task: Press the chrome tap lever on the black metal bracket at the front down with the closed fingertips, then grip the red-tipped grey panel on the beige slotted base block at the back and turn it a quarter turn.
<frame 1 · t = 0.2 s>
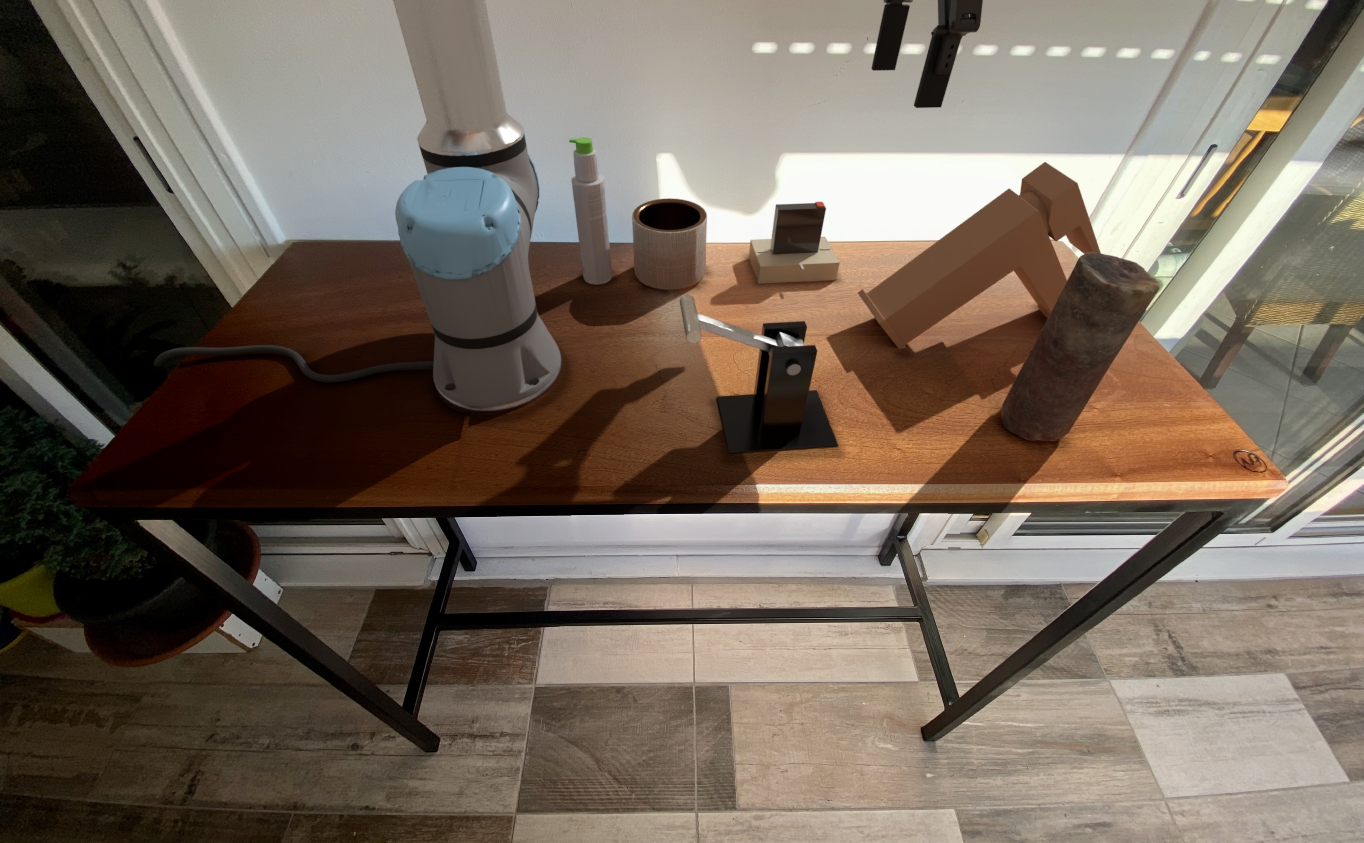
hand: (903, 87, 67), 28 cm above the table, tool pointing down, fingers open, 13 cm apart
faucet: (963, 331, 82), on the table
tap lever: (743, 336, 58), point 13 cm above the table, hinge at 25.0°
grey-brown thick cylinder: (1031, 423, 69), on the table
red-tipped grey panel: (797, 228, 88), point 7 cm above the table, hinge at 0.0°
bottle: (598, 278, 91), on the table
planter: (669, 275, 91), on the table
beige slotted base block: (791, 268, 93), on the table
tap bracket: (774, 427, 68), on the table
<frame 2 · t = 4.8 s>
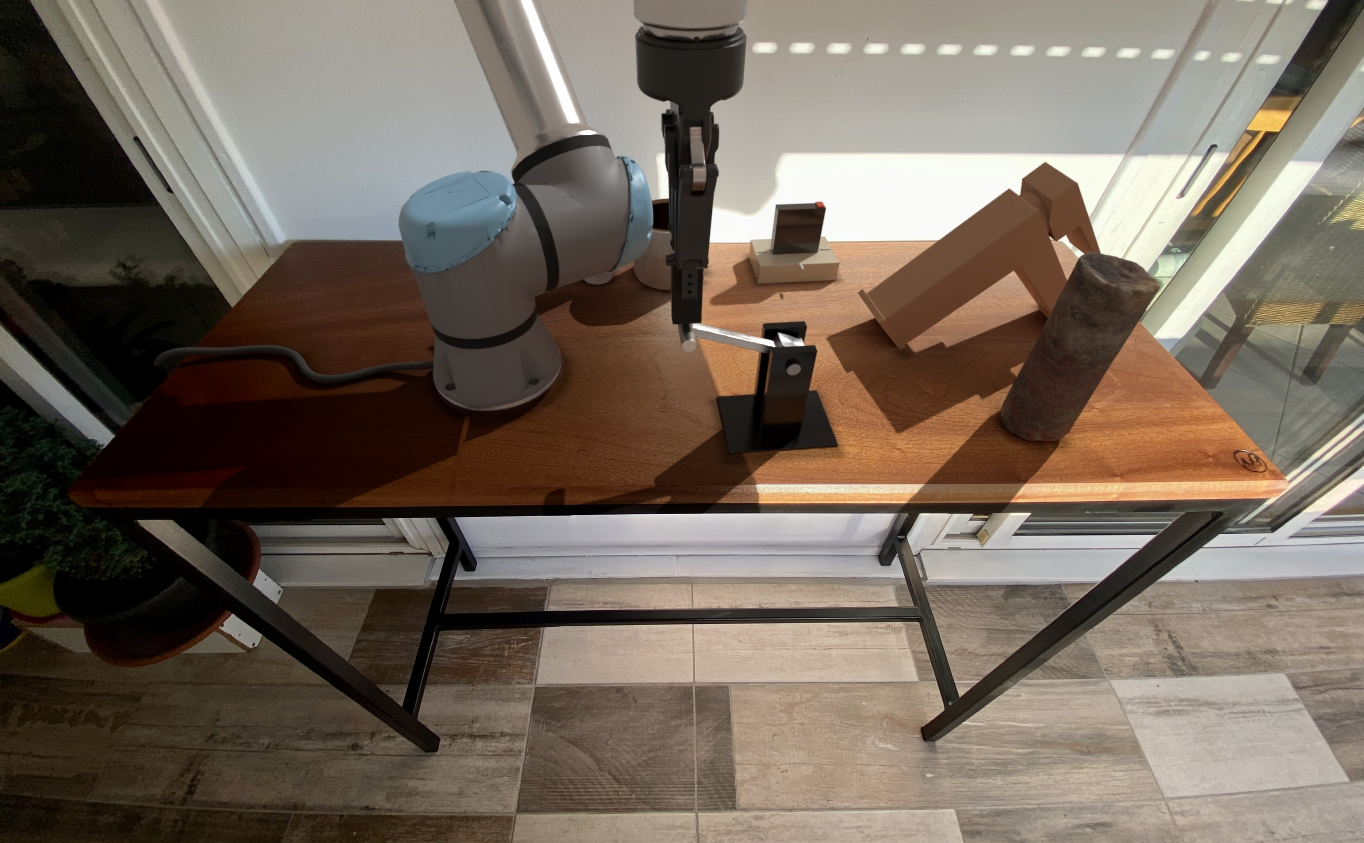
hand: (686, 319, 56), 16 cm above the table, tool pointing down, fingers closed
tap lever: (740, 340, 59), point 13 cm above the table, hinge at 19.1°, touching gripper
everything else where it was.
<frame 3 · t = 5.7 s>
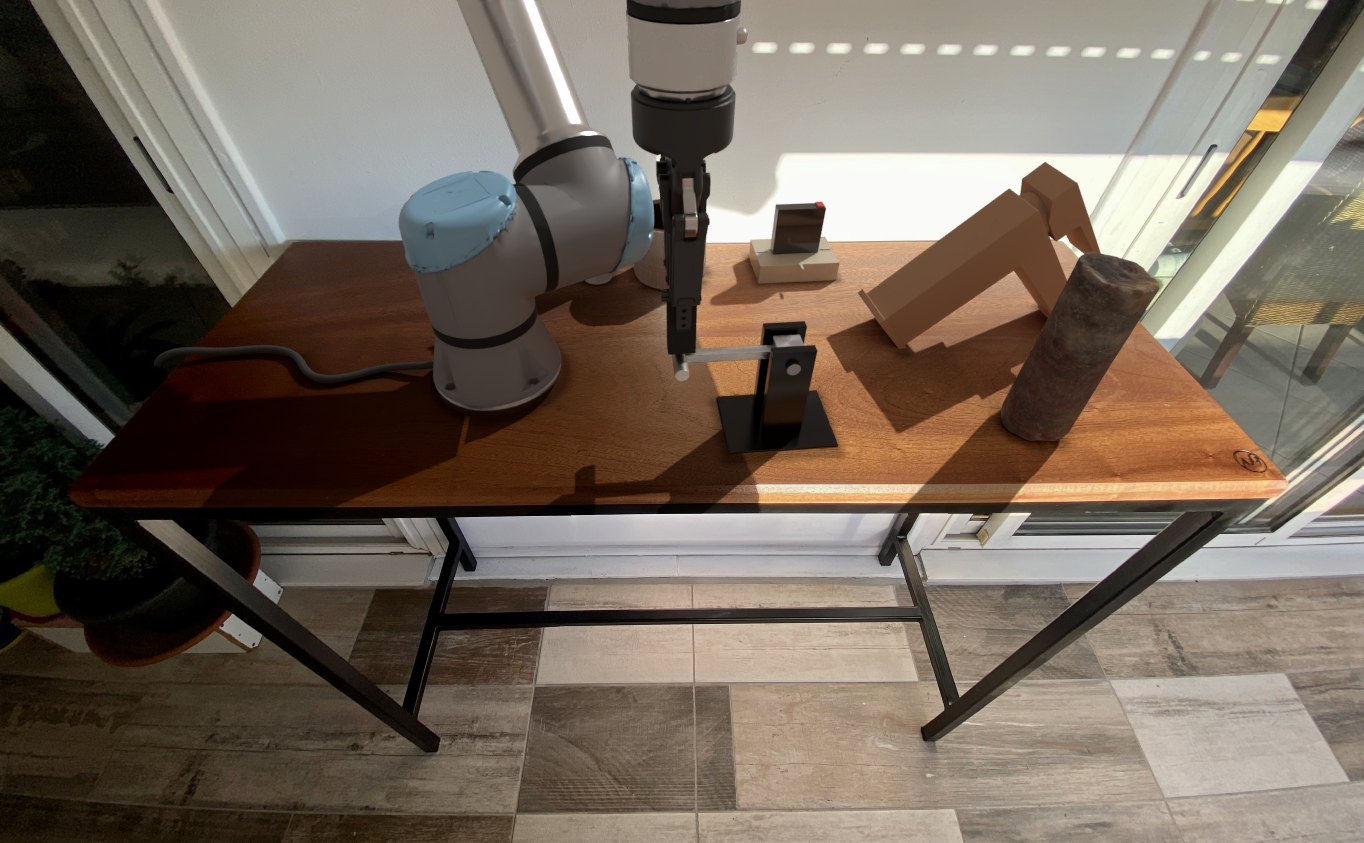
hand: (681, 349, 59), 12 cm above the table, tool pointing down, fingers closed
tap lever: (736, 353, 60), point 11 cm above the table, hinge at 0.4°, touching gripper
everything else where it was.
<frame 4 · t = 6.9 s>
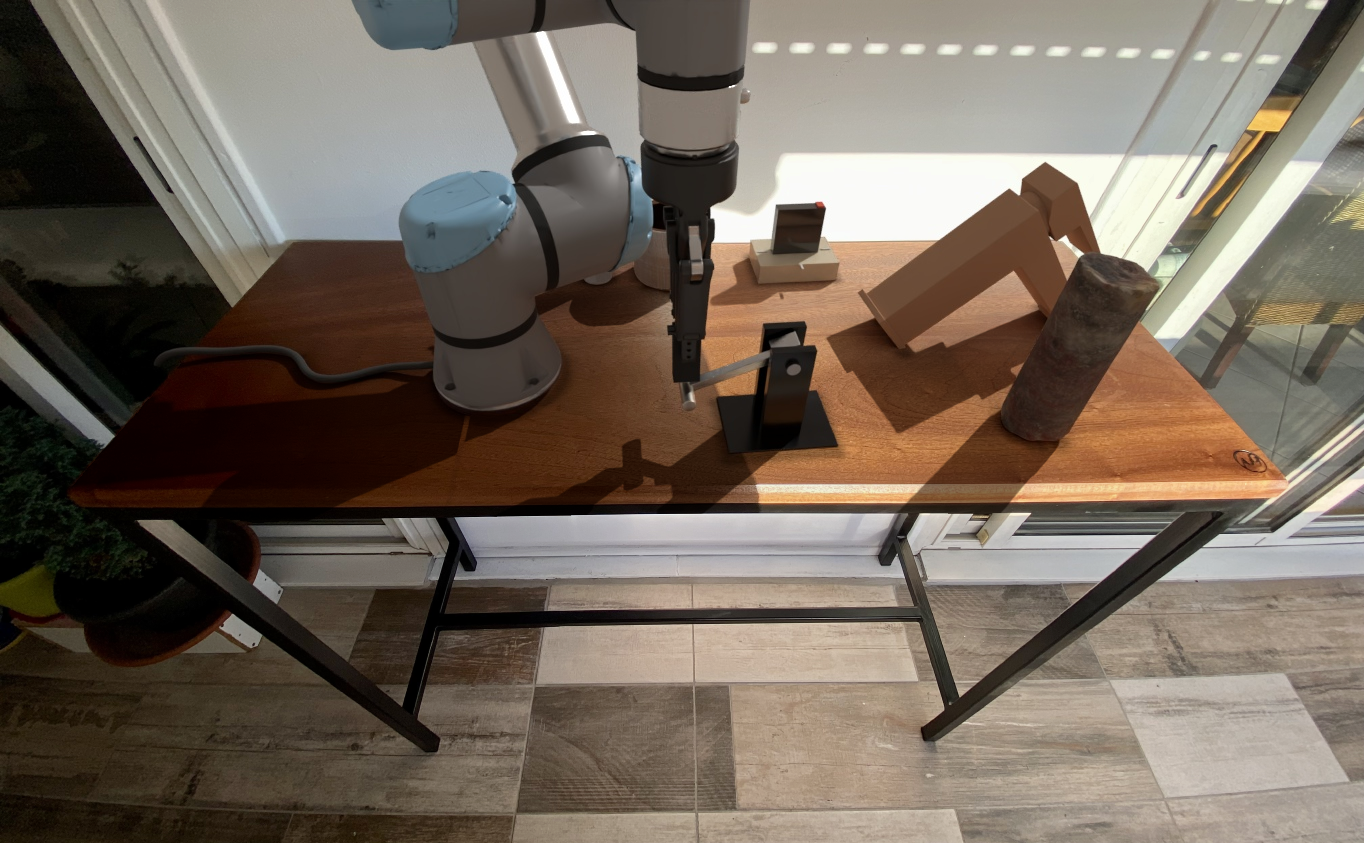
hand: (685, 377, 61), 8 cm above the table, tool pointing down, fingers closed
tap lever: (738, 368, 61), point 9 cm above the table, hinge at -21.4°, touching gripper
everything else where it was.
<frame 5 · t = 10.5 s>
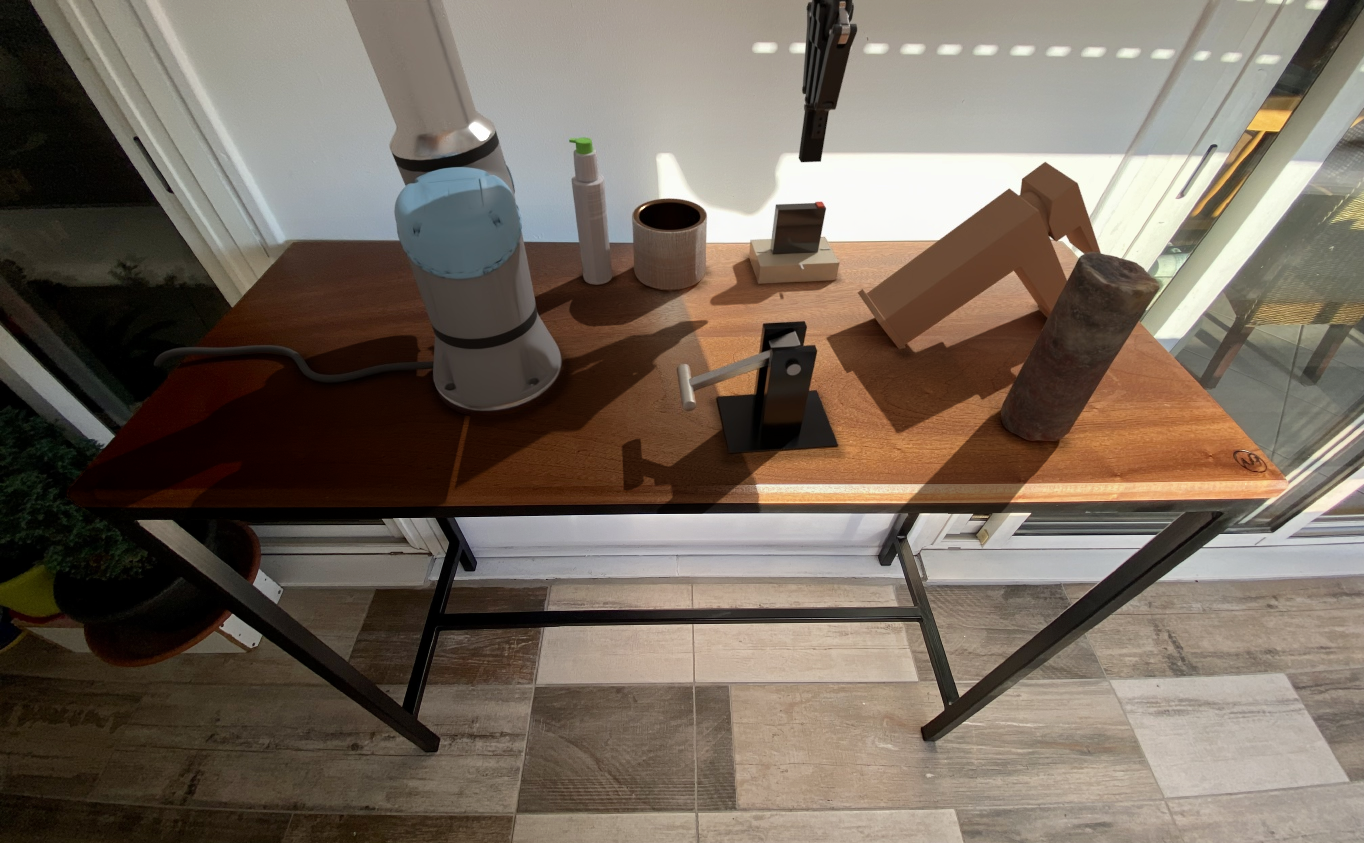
hand: (809, 159, 80), 17 cm above the table, tool pointing down, fingers closed
tap lever: (738, 368, 61), point 9 cm above the table, hinge at -21.4°
everything else where it was.
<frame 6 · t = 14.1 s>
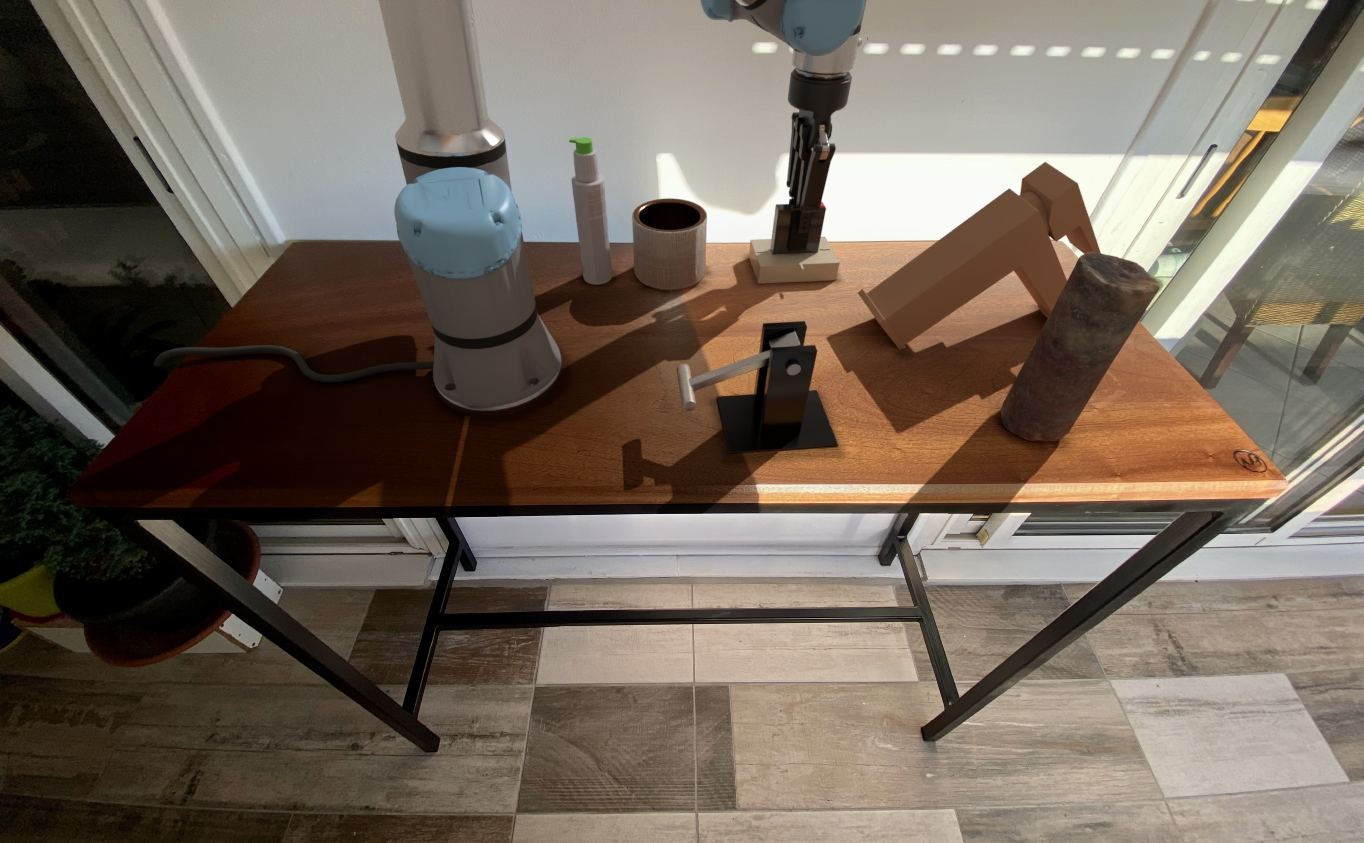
hand: (794, 244, 90), 4 cm above the table, tool pointing down, fingers closed on red-tipped grey panel, 2 cm apart
red-tipped grey panel: (797, 228, 88), point 7 cm above the table, hinge at 0.0°, touching gripper
everything else where it was.
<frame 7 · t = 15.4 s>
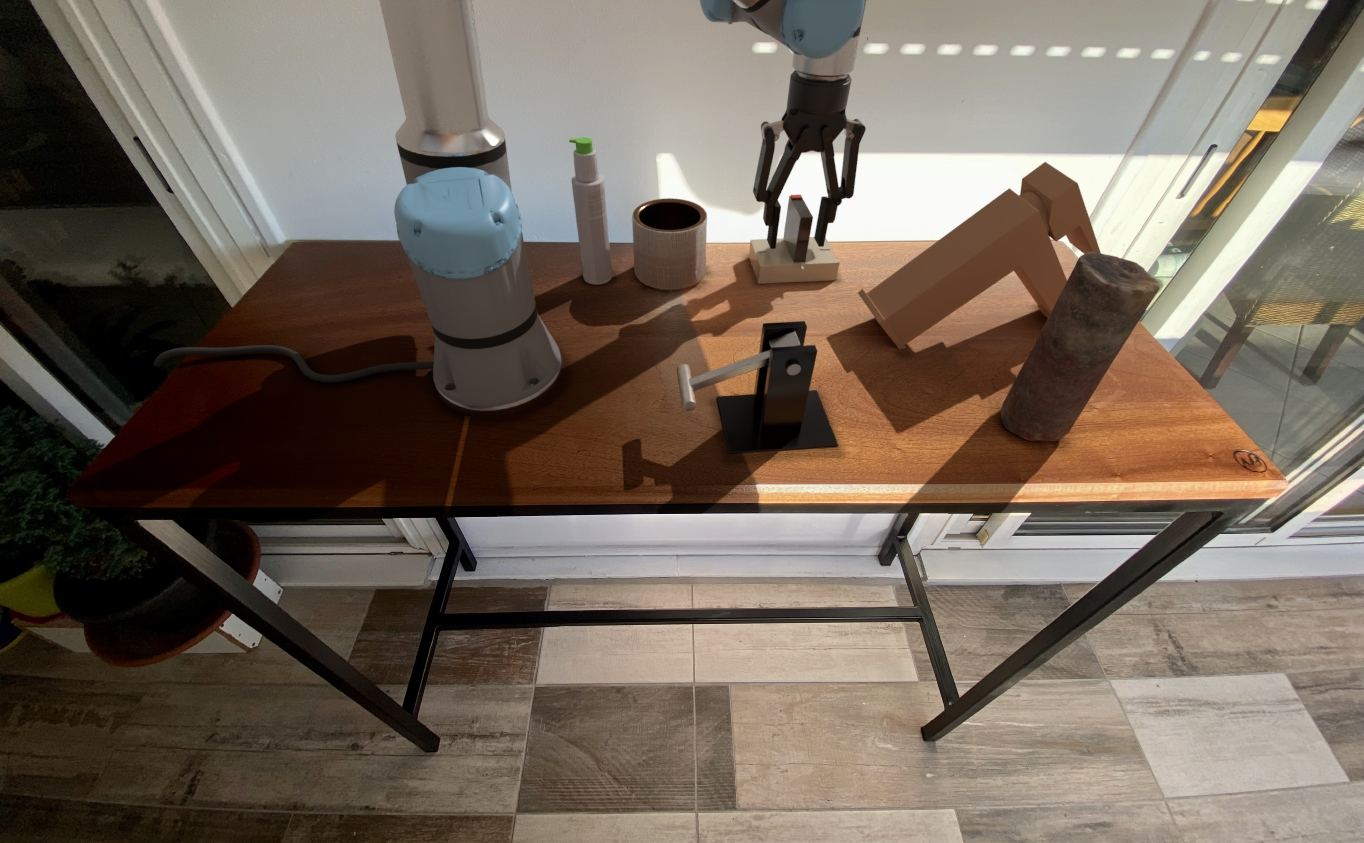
hand: (795, 243, 90), 4 cm above the table, tool pointing down, fingers open, 7 cm apart
red-tipped grey panel: (797, 228, 88), point 7 cm above the table, hinge at 90.0°
everything else where it was.
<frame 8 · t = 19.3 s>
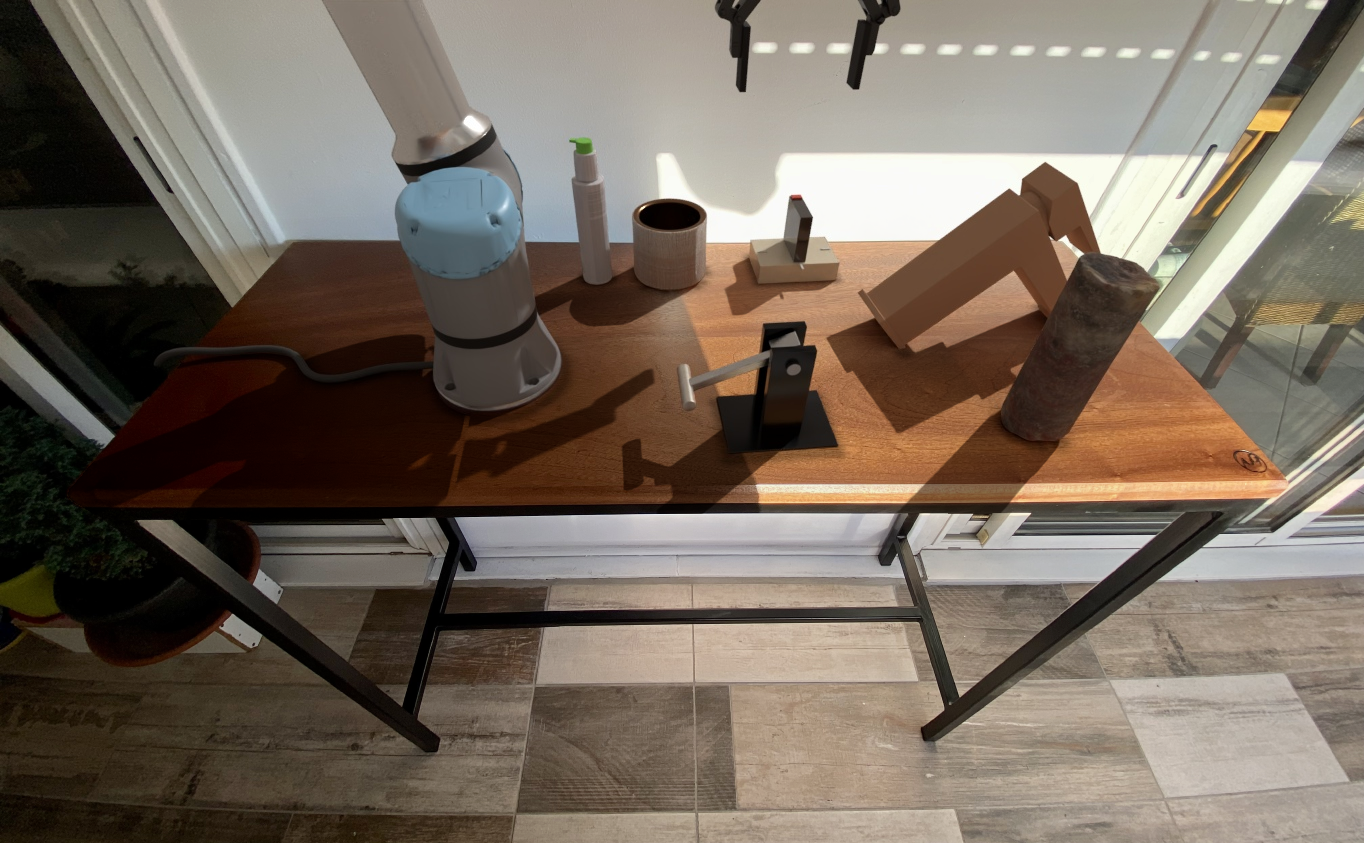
hand: (797, 88, 71), 27 cm above the table, tool pointing down, fingers open, 13 cm apart
nothing on the table moved.
at the end: tap lever at -21° (first picture: +25°); red-tipped grey panel at +90° (first picture: +0°) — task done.
